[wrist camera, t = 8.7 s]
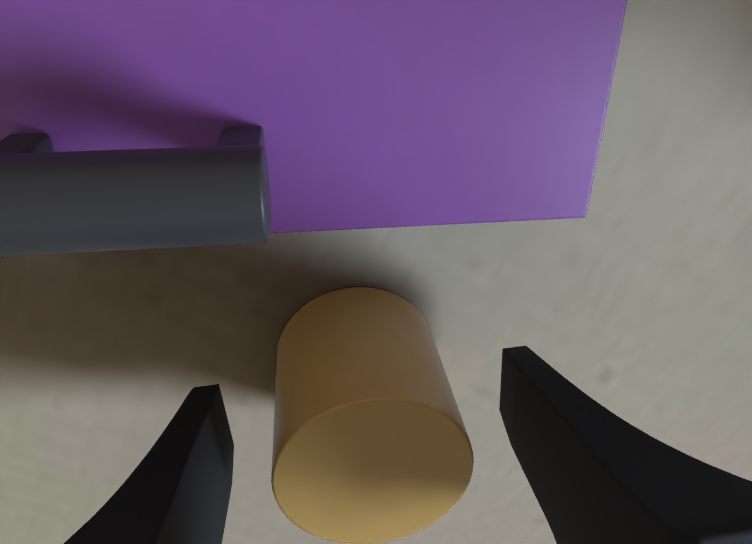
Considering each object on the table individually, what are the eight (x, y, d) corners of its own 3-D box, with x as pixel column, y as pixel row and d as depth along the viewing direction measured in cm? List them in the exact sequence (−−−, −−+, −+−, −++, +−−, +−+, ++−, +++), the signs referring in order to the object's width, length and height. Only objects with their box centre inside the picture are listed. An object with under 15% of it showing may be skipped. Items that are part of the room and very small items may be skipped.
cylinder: (463, 339, 17) (515, 458, 13) (364, 434, 18) (383, 568, 14) (346, 256, 15) (363, 363, 11) (245, 367, 16) (229, 498, 12)
